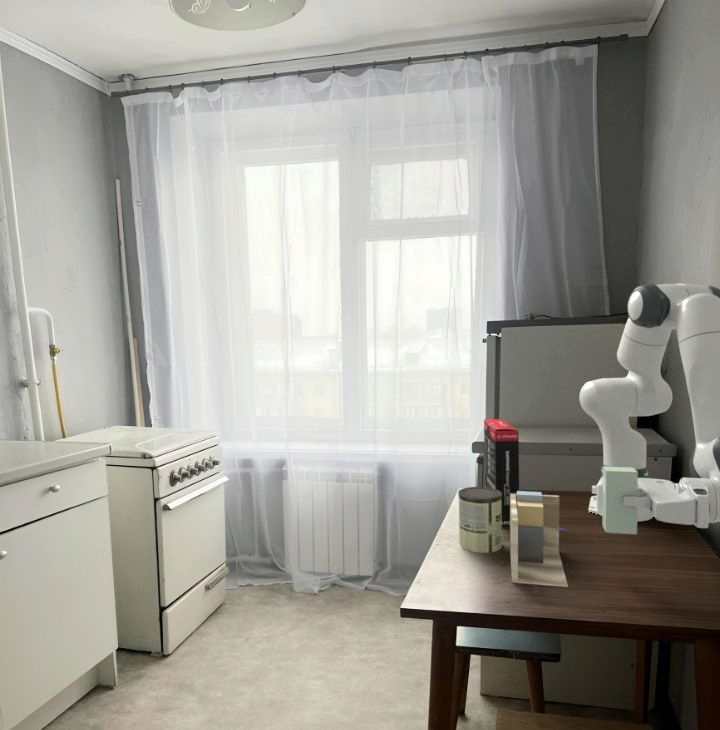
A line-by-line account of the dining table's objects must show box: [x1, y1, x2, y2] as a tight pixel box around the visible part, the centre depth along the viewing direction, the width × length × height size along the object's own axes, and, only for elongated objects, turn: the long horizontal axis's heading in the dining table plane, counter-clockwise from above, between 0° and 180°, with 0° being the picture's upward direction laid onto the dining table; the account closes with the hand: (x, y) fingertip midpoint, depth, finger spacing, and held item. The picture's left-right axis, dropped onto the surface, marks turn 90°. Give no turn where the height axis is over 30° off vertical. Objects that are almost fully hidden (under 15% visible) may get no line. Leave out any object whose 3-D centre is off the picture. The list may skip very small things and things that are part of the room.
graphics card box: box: [483, 418, 520, 527], centre depth 162 cm, size 17×7×27 cm, turn 179°
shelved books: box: [517, 490, 543, 527], centre depth 134 cm, size 7×6×14 cm
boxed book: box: [601, 467, 638, 535], centre depth 123 cm, size 4×6×13 cm, turn 77°
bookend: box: [518, 526, 544, 563], centre depth 132 cm, size 4×6×8 cm
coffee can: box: [457, 486, 503, 554], centre depth 141 cm, size 10×10×14 cm
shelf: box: [509, 493, 569, 588], centre depth 129 cm, size 20×11×14 cm, turn 167°
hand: (620, 496), depth 123 cm, fingers closed on boxed book, 4 cm apart
